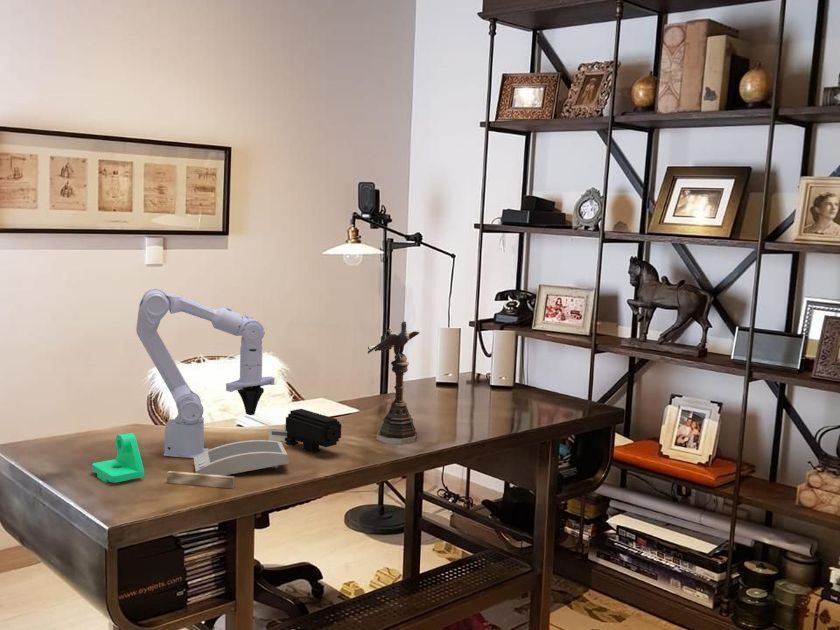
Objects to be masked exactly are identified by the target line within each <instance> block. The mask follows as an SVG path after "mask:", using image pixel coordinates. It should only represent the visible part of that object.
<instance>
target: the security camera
mask: <svg viewBox="0 0 840 630" xmlns="http://www.w3.org/2000/svg"><path fill="white" fill-rule="evenodd" d="M289 412H290V413H287V416H286V417H285V429H286V431H287V438H285V441H286V442H285V444H286V445H289V446H290V447H291V446H296V445H297V446H298V445H299V443H302V450H303V451H306V452H307V453H312V454H319V453H321V451H322V450H321V448H320V446H321V447H323V448H328V447H333V446H336V445H337V444H338V442H340V439H341V438H342V423H340V421H339V420H338V419H337V418H334V417H331V416H328V415H324V414H321V413H317V412H313V411H312V410H311V411H310V410H307V409H304V408H298V409H292V410H290V411H289Z"/></svg>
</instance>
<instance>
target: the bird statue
mask: <svg viewBox="0 0 840 630" xmlns="http://www.w3.org/2000/svg"><path fill="white" fill-rule="evenodd" d="M400 324H401V325H400V328H401V331H400V333H398V332H393V330H392V328H391V326H389V328H388V330H387V332H388V336H387V337H385V339H383V340H382V341H381V342H379V343H378V344H376V345H368V347H367V349H368V351H367V354H368V355H369V354H370V353H371V352H373V351H374V352H378V351H381V352H383V351H386V350H387V351H388V350H392V349H393V352H394V358H393V359H394V360H393V361H391V363H390V364H391V371H392V372H393V373H394V374H395V386H393V387H394V388H393V389H395V393H394V394H395V398H394V400H393V401H392V402H391V404H390V408H389V410H388V412H387V413H386V415H385V416H384V417H383V419H382V421H383V422H382V425H381V427H380V429H379V430H378V431H377V433H376V440H377V441H379V442H382V443H384V444H388V445H400V446H401V445H407V444H412V443H416V441H417V439H418V438H417V437H418V432H417V431H416V428H415V425H414V422H413V421H414V418H412V415H411V414H410V412H409V409H408V406H407V405H408V404H407V403H406V401H404V397H403V395H404V389H405V386H404V375H405V373H407V372H408V366H409V364H410V363H409V361H407V356H406V354H405V353H404V350H405V345H406V344H407V343H408V342H409V341H410V340H412V339H413V338H415V337H416V336H418V335H419V334H421V333H420V331H419V330H413V331H411V332H409V331H408V329H407V321H402V322H401V323H400Z"/></svg>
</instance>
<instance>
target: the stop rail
mask: <svg viewBox="0 0 840 630" xmlns="http://www.w3.org/2000/svg"><path fill="white" fill-rule="evenodd" d="M235 479H236V478H235V476H231V475H224V476H223V475H211V474H199V473H196V472H187V471H174V470H173V471H172V470H169V471H167V472H166V483H167V484H175V485H176V484H179V485H190V486H198V487H199V486H202V487H212V488H222V489H223V488H224V489H234V488H235Z"/></svg>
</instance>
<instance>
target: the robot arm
mask: <svg viewBox="0 0 840 630" xmlns="http://www.w3.org/2000/svg"><path fill="white" fill-rule="evenodd" d="M137 311H138V312H137V320H136V321H137V322H136V329H135V331H136V335H137V337H138V338H139V341H140V342H141V343H142V345H143V347H144V349H145V350H146V352H147V354H148V355H149V357H150V359H151V361H152V362H153V365H154V366H155V368H156V369H157V371H158V373H159V375H160V376H161V378H162V380H163V382H164V383H165V385H166V387H167V388H168V390H169V393H170V394H171V396H172V398H173V400H174V403H175V406H176V409H177V416H176V417H175V418H174V419H173V418H172V419H171V418H170V419H168V421H167V422H166V423H165V427H164V453H163V456H164V457H176V458H187V459H194V457H195V456H197V455H199V454H201V453H203V452H205V451H208V450H210V447H209V448H207V447H204V445H205V444H204V442H205V439H204V437H205V436H204V431H205V428H204V427H205V424H204V423H205V421H204V419H205V418H204V416H203V415H204V406H203V404H202V401H201V397H200V396H199V394H197V393H195V392H194V391H193V390H192V389H191V388H190V386H189V385H188V383H187V381H186V380H185V378H184V376H183V374H182V373H181V371H180V370H179V368H178V366H177V363H176V362H175V360H174V359H173V357H172V355H171V353H170V351H169V349H167V347H166V345H165V343H164V341H163V339H162V337H161V336H160V334H159V332H158V328H159V326H160V323H161V320H163V318H164V317H165V316H166V315H167V313H168V312H169V313H170V314H171V315H172V314H176V313H177V314H178V313H185V314H188V315H191V316H193V317H198V318H200V319H203V320H206V321H209V322H211V324H212V327H213V329H216V330H219V331H221V332H224V333H227V334H230V335H232V336H236V337H239V336H241V337H240V338H241V339H240V349H239V351H240V352H239V353H240V354H239V359H240V360H239V378H238V380H234V381H231V382H227V383H225V391H226V392H229V393H232V392H234V391H237V393H238V395H239V396H240V399H241V400H242V403H243V406H244V410H245V414H246V415H248V416H254V415H256V410H257V408H258V407H257V406H258V403H259V401H260V399H261V397H262V395H263V393H264V391H265V388H263V386H268V385H271V386H273V385H275V382H276V381H275V379H276V378H275V377H274V376H263V338H264V337H265V333H266V332H265V329H264V328H265V327H264V326H263V324H262V323H260V321H259V320H257V319H256V318H254V317H252V316H250V315H248V314H246V313H245V314H244V315H243V314H241V313H238V312H235V311H233V308H231V307H229V306H226V308H225V307H219V308H217V309H213V308H211V307H209V306H206V305H204V304H202V303H199V302H196V301H195V300H192V299H189V298H187V297H184V296H183V295H180V294H177V293H172V292H169V291H165V292H164V291H163V290H162V289H157V288H153V289H148V290H147V291H145V292H144V294H143V296H142V298H141V300H140V301H139V304H138V310H137Z"/></svg>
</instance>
